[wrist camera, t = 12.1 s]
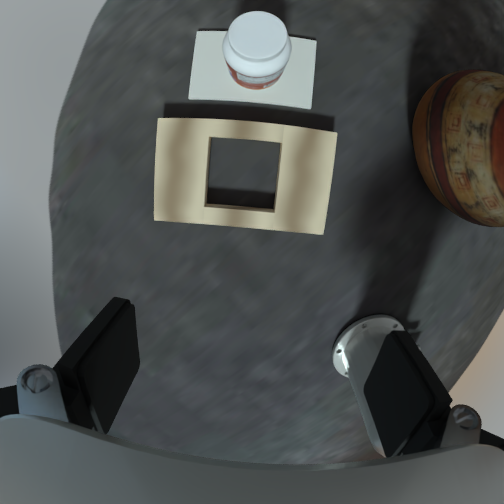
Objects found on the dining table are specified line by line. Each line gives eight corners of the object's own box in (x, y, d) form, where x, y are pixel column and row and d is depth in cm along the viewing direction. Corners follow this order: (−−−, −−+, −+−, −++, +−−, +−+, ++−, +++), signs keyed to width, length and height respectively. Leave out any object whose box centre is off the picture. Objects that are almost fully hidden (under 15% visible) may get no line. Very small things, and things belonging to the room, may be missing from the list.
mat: (315, 42, 27) (316, 40, 27) (310, 109, 30) (311, 108, 30) (198, 32, 27) (197, 31, 26) (189, 99, 30) (188, 98, 29)
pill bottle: (234, 40, 27) (226, -2, 17) (287, 49, 27) (302, 11, 17) (223, 86, 29) (210, 60, 19) (277, 96, 29) (290, 73, 19)
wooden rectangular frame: (332, 133, 31) (337, 133, 30) (319, 230, 36) (323, 234, 34) (163, 119, 31) (158, 118, 29) (158, 216, 35) (154, 220, 33)
